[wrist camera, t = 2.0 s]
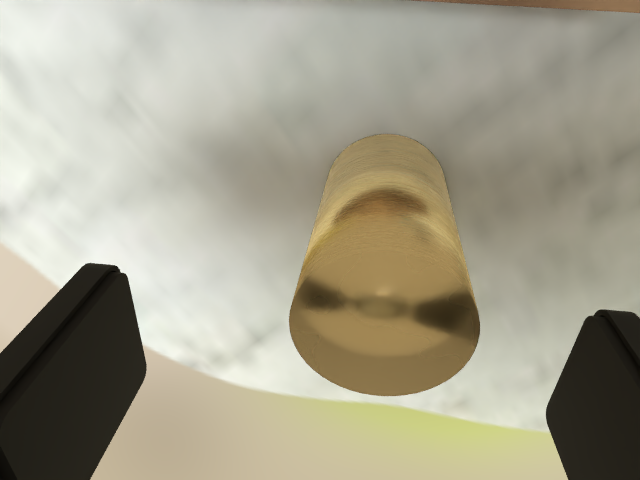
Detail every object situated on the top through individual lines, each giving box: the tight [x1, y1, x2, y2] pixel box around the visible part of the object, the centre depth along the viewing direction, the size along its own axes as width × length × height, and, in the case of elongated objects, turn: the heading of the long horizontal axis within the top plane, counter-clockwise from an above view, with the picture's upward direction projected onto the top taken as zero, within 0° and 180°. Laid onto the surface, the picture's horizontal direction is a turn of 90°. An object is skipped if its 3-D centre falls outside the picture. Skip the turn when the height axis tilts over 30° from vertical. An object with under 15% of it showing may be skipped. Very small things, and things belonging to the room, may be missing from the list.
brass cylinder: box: [289, 134, 480, 396], centre depth 13 cm, size 4×4×7 cm
